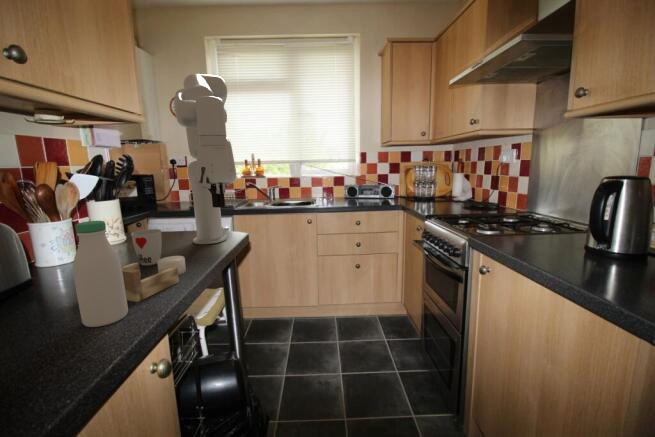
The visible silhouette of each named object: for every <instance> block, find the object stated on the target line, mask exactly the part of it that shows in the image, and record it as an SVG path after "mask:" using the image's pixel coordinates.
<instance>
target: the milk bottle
mask: <svg viewBox="0 0 655 437" xmlns="http://www.w3.org/2000/svg"><path fill="white" fill-rule="evenodd" d="M74 226H75V232H76V236H77V237H78V245H77V249H76V251H75V255H74V258H73V260H72V262H73V263H72V272H73V280H74V286H75V290H76V292H75V293H76V297H77V302H78V308H79V312H80V313H79V314H80V318H81V319H80V320H81V322H82V324H83V325H84V326H85V327H88V328H98V327H103V326H104V327H105V326H108V325H112V324H114V323H116V322H119V321H120V320H122V319H123V318H125V317H126V316H127V315H128V312H129V307H128V300H127V299H126V292H125V286H124V280H123V274H122V268H121V267H122V264H121V263H122V262H121V260H120V257H119V254H118V252H117V250H115V248H114V247H113V246H112V245H111V243H110V242H109V240H108V238H107V234H106V232H107V225H106V221H104V220H88V221H81V222H78V223H76V224H75V225H74Z"/></svg>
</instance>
